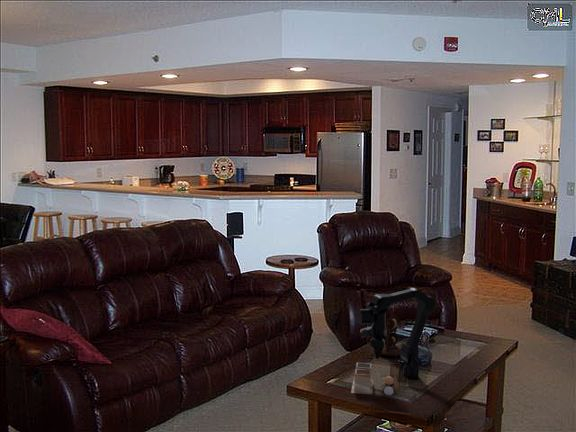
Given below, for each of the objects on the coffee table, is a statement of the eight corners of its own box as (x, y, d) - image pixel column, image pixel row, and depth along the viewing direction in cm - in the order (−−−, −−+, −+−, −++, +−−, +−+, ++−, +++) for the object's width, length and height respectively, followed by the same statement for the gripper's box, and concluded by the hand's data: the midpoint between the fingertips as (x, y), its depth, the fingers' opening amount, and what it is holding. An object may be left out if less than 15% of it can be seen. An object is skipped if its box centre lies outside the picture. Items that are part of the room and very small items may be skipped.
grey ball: (393, 394, 283) (393, 385, 282) (393, 397, 279) (393, 388, 278) (383, 393, 283) (384, 384, 283) (383, 396, 279) (384, 387, 279)
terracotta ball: (393, 383, 295) (393, 375, 295) (393, 386, 292) (393, 378, 291) (384, 383, 296) (384, 374, 296) (384, 386, 292) (384, 377, 292)
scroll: (382, 348, 348) (384, 311, 346) (408, 353, 341) (410, 316, 339) (371, 355, 336) (373, 317, 334) (398, 360, 328) (400, 322, 326)
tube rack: (353, 379, 299) (354, 361, 298) (373, 381, 297) (374, 363, 296) (351, 394, 281) (351, 374, 280) (371, 396, 280) (372, 376, 279)
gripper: (363, 316, 307) (362, 348, 308) (359, 326, 289) (358, 360, 290) (387, 317, 305) (386, 350, 306) (384, 328, 286) (383, 362, 288)
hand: (378, 355), depth 298 cm, fingers open, 9 cm apart
